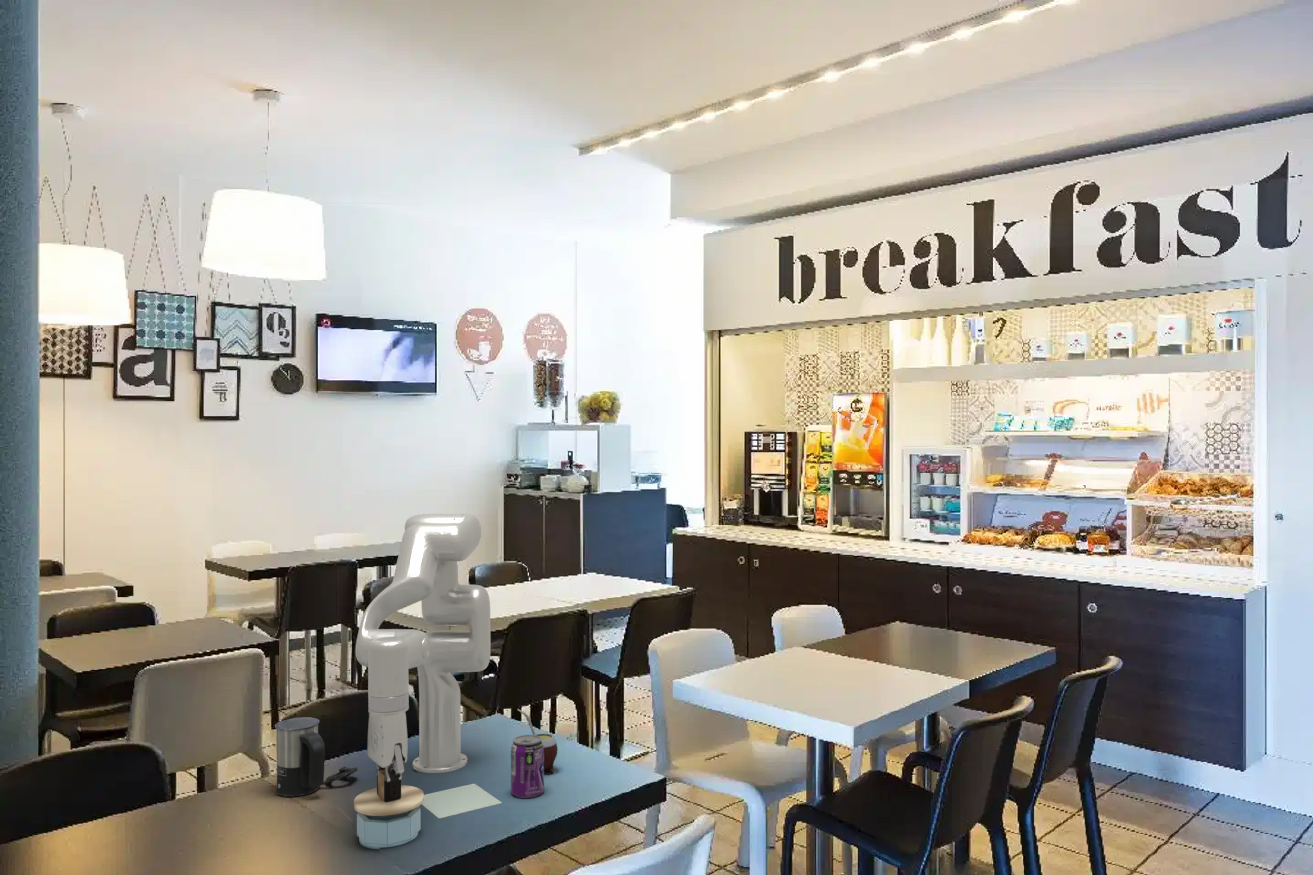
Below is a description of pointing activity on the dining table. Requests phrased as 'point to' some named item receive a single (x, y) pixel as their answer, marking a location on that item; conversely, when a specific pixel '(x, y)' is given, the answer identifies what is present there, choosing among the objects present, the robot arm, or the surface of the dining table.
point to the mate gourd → (545, 747)
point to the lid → (378, 807)
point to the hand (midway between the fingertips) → (389, 796)
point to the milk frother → (302, 758)
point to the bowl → (388, 829)
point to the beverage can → (527, 766)
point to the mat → (458, 800)
